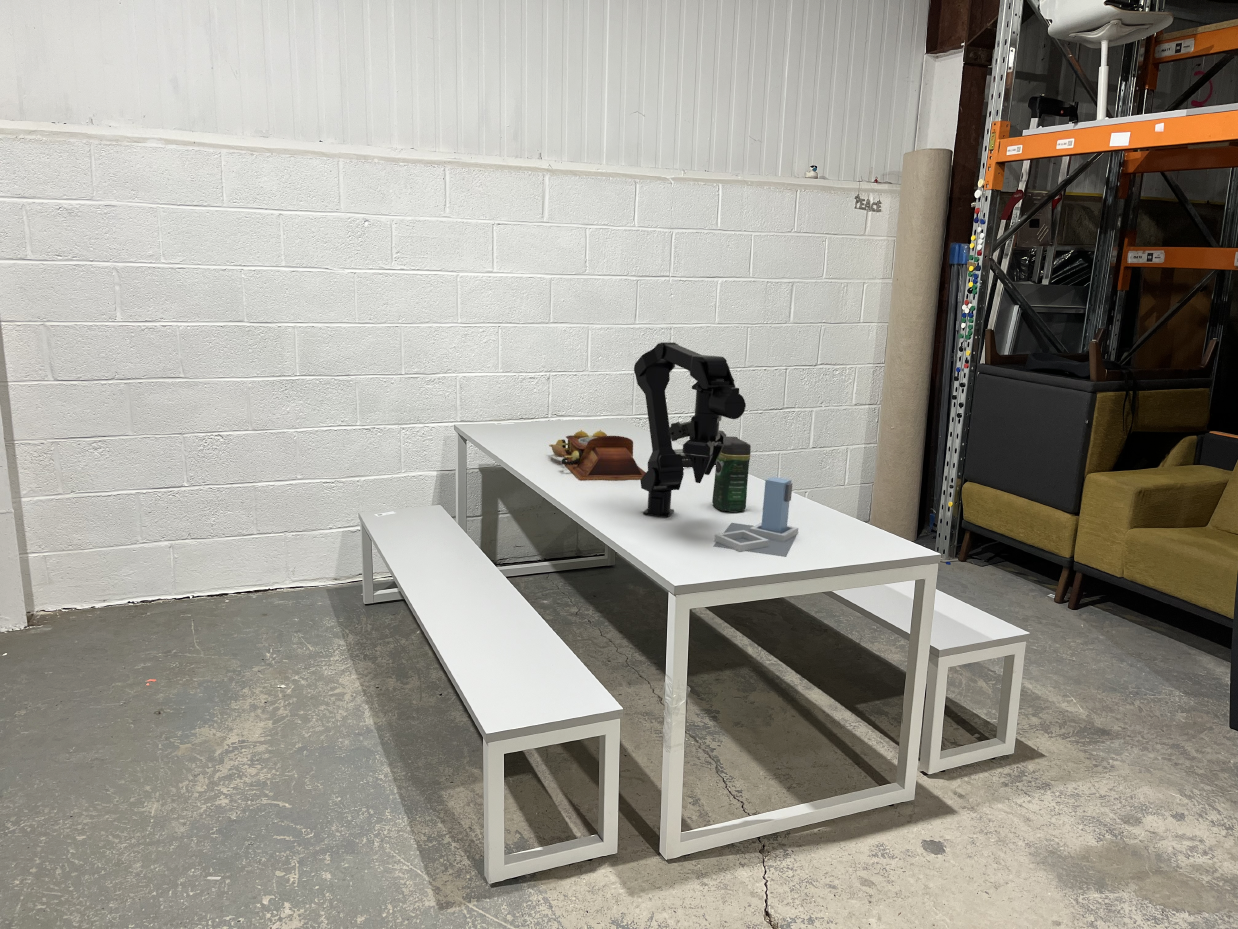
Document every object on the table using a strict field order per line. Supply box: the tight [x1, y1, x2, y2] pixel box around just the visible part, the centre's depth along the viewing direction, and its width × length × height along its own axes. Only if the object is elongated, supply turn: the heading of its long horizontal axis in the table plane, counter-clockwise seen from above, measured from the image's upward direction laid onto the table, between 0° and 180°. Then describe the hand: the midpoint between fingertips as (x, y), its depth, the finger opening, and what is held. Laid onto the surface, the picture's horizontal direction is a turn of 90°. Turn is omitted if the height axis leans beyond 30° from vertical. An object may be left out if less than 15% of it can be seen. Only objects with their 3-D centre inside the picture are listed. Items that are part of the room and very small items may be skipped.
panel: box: [712, 521, 799, 558], centre depth 210 cm, size 22×17×2 cm
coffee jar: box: [711, 436, 752, 513], centre depth 238 cm, size 10×8×19 cm
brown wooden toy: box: [548, 429, 647, 482], centre depth 280 cm, size 24×12×40 cm
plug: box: [761, 476, 793, 534], centre depth 213 cm, size 5×4×13 cm
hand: (702, 478), depth 213 cm, fingers open, 9 cm apart
